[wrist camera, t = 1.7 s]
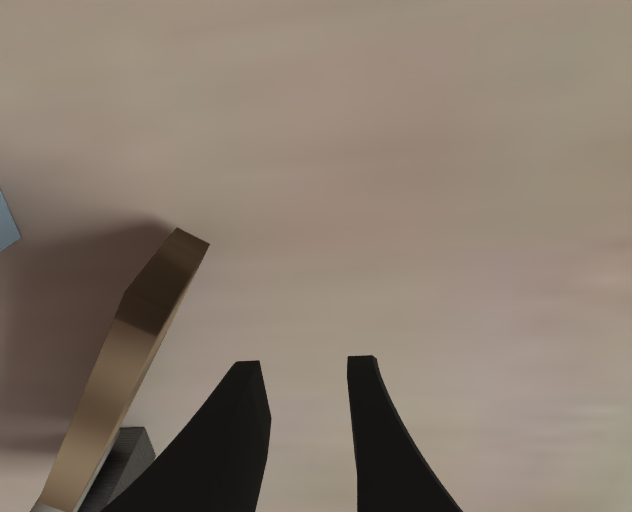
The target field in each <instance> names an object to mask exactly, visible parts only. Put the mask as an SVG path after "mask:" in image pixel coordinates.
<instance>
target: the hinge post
mask: <svg viewBox="0 0 632 512" xmlns="http://www.w3.org/2000/svg"><path fill="white" fill-rule="evenodd" d="M119 430H120V434H119V436H118V438H117V440H116V442H115V443H114V445H113V447H112V449H111V451H110V453H109V454H108V456H107V458H106V460H105V462H104V464H103V465H102V467H101V469H100V471H99V473H98V475H97V476H96V478H95V480H94V482H93V484H92V486H91V487H90V489H89V491H88V493H87V495H86V497H85V498H84V500H83V502H82V504H81V506H80V508H79V509H78V511H77V512H100V511H101V510H102V509H103V508H105V507H106V506H107V505H108V504H109V503H110V502H112V501H113V500H114V499H115V498H116V497H117V496H119V495H120V494H121V493H122V492H123V491H124V490H125V489H126V488H127V487H128V486H129V485H130V484H131V483H132V482H134V481H135V480H136V479H137V478H138V477H139V476H140V475H141V474H142V473H143V472H144V471H145V470H146V469H147V468H148V467H149V466H150V465H151V464H152V463H153V462H154V459H155V457H156V455H155V453H154V450H153V448H152V445H151V442H150V440H149V437H148V435H147V432H146V429H145V428H119Z"/></svg>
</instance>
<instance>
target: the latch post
mask: <svg viewBox="0 0 632 512" xmlns="http://www.w3.org/2000/svg"><path fill="white" fill-rule="evenodd" d="M20 238H21V236H20V234H19V232H18V229H17V227H16V225H15V222H14V220H13V218H12V216H11V213H10V211H9V209H8V207H7V204H6V202H5V200H4V197H3V195H2V193H1V191H0V252H1V251H2V250H3V249H5V248H6V247H8V246H9V245H11V244H12V243H14V242H15V241H17V240H18V239H20Z"/></svg>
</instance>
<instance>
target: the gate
mask: <svg viewBox="0 0 632 512" xmlns="http://www.w3.org/2000/svg"><path fill="white" fill-rule="evenodd" d="M209 245H210V244H209V243H207V242H205V241H203V240H201V239H199V238H197V237H195V236H193V235H191V234H189V233H187V232H185V231H183V230H181V229H179V228H176V229H175V230H174V232H173V233H172V234H171V235H170V237H169V238H168V239H167V240H166V242H165V243H164V244H163V245H162V247H161V248H160V249H159V250H158V251H157V253H156V254H155V255H154V256H153V258H152V259H151V260H150V261H149V263H148V264H147V265H146V266H145V268H144V269H143V270H142V271H141V272H140V274H139V275H138V276H137V277H136V279H135V280H134V281H133V282H132V284H131V285H130V286H129V287H128V289H127V290H126V291H125V293H124V296H123V298H122V300H121V303H120V305H119V308H118V310H117V312H116V315H115V317H114V320H113V322H112V325H111V327H110V329H109V332H108V334H107V337H106V339H105V341H104V344H103V346H102V349H101V351H100V353H99V356H98V358H97V361H96V363H95V366H94V368H93V370H92V373H91V375H90V378H89V380H88V382H87V385H86V387H85V390H84V392H83V394H82V397H81V399H80V402H79V404H78V407H77V409H76V411H75V414H74V416H73V419H72V421H71V423H70V426H69V428H68V431H67V433H66V435H65V438H64V440H63V443H62V445H61V448H60V450H59V452H58V455H57V457H56V460H55V462H54V464H53V467H52V469H51V472H50V474H49V476H48V479H47V481H46V484H45V486H44V489H43V491H42V493H41V495H40V497H39V498H38V500H37V501H36V503H35V505H34V506H33V508H32V509H31V511H30V512H77V511H78V509H79V508H80V506H81V504H82V502H83V500H84V498H85V497H86V495H87V493H88V491H89V489H90V487H91V486H92V484H93V482H94V480H95V478H96V476H97V475H98V473H99V471H100V469H101V467H102V465H103V464H104V462H105V460H106V458H107V456H108V454H109V453H110V451H111V449H112V447H113V445H114V443H115V442H116V440H117V438H118V436H119V434H120V430H119V427H120V426H121V424H122V422H123V420H124V418H125V415H126V413H127V411H128V409H129V407H130V405H131V403H132V401H133V399H134V397H135V395H136V393H137V391H138V389H139V387H140V385H141V383H142V381H143V379H144V377H145V375H146V373H147V371H148V369H149V367H150V365H151V363H152V361H153V359H154V357H155V355H156V353H157V351H158V349H159V347H160V345H161V342H162V340H163V338H164V336H165V334H166V332H167V330H168V328H169V326H170V324H171V322H172V320H173V318H174V316H175V314H176V312H177V310H178V308H179V306H180V304H181V302H182V300H183V298H184V296H185V294H186V292H187V290H188V288H189V286H190V284H191V282H192V280H193V278H194V276H195V274H196V272H197V269H198V267H199V265H200V263H201V261H202V259H203V257H204V255H205V253H206V251H207V249H208V247H209Z"/></svg>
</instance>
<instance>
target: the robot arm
mask: <svg viewBox="0 0 632 512" xmlns="http://www.w3.org/2000/svg"><path fill="white" fill-rule="evenodd" d="M347 381H348V392H349V402H350V412H351V422H352V432H353V442H354V452H355V460H356V469H357V512H463V511H462V510H461V509H460V507H459V506H458V505H457V503H456V502H455V501H454V500H453V498H452V497H451V496H450V494H449V493H448V492H447V490H446V489H445V488H444V486H443V485H442V484H441V482H440V481H439V479H438V478H437V476H436V475H435V474H434V472H433V471H432V469H431V468H430V466H429V465H428V463H427V462H426V460H425V459H424V457H423V456H422V454H421V453H420V451H419V449H418V448H417V446H416V444H415V443H414V441H413V439H412V438H411V436H410V435H409V433H408V431H407V429H406V427H405V426H404V424H403V422H402V420H401V418H400V416H399V414H398V412H397V410H396V408H395V407H394V405H393V403H392V400H391V398H390V396H389V394H388V392H387V389H386V387H385V385H384V382H383V379H382V377H381V374H380V371H379V367H378V363H377V359H376V358H375V357H374V356H372V355H368V356H348V362H347ZM270 428H271V414H270V409H269V405H268V400H267V395H266V390H265V385H264V381H263V376H262V371H261V366H260V361H238V362H235V364H234V365H233V366H232V367H231V368H230V370H229V371H228V372H227V374H226V375H225V376H224V378H223V379H222V380H221V382H220V383H219V384H218V386H217V387H216V388H215V390H214V391H213V392H212V394H211V395H210V396H209V397H208V399H207V400H206V401H205V403H204V404H203V405H202V406H201V408H200V409H199V410H198V411H197V412H196V414H195V415H194V416H193V417H192V419H191V420H190V421H189V422H188V424H187V425H186V426H185V427H184V428H183V430H182V431H181V432H180V433H179V434H178V435H177V436H176V437H175V439H174V440H173V441H172V442H171V443H170V444H169V445H168V446H167V448H166V449H165V450H164V451H163V452H162V453H161V454H160V455H159V456H158V457H157V458H156V459H155V461H154V462H153V463H152V464H151V465H150V466H149V467H148V468H147V469H146V470H145V471H144V472H143V473H142V474H141V475H140V476H139V477H138V478H137V479H136V480H135V481H134V482H132V483H131V484H130V485H129V486H128V487H127V488H126V489H125V490H124V491H123V492H122V493H121V494H120V495H119V496H117V497H116V498H115V499H114V500H113V501H112V502H110V503H109V504H108V505H107V506H106V507H105V508H103V509H102V510H101V511H100V512H255V510H256V505H257V501H258V497H259V492H260V488H261V483H262V479H263V474H264V470H265V465H266V461H267V455H268V447H269V438H270Z"/></svg>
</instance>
